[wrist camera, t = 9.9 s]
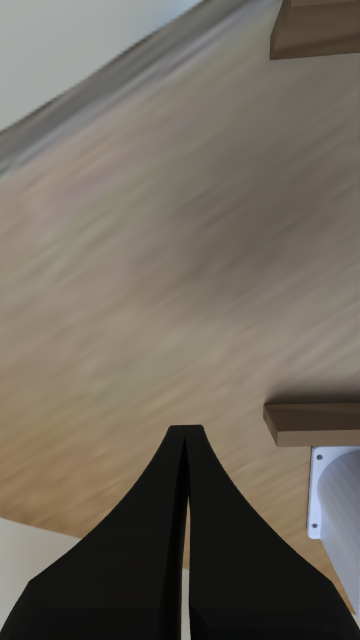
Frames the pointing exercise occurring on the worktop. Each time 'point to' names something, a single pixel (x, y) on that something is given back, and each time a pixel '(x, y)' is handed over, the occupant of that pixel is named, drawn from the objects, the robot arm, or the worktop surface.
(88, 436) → the worktop surface
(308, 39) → the tray
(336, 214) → the worktop surface
